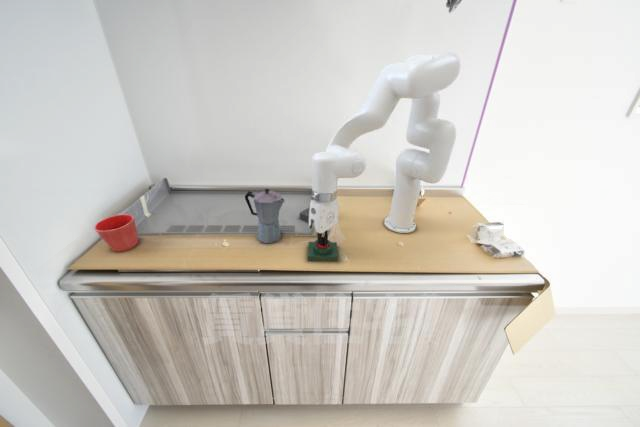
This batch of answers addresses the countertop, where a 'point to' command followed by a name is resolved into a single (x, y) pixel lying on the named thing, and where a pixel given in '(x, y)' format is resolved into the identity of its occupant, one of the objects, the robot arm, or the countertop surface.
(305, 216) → the stove panel
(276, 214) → the moka pot
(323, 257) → the button block
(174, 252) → the countertop surface
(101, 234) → the flower pot
